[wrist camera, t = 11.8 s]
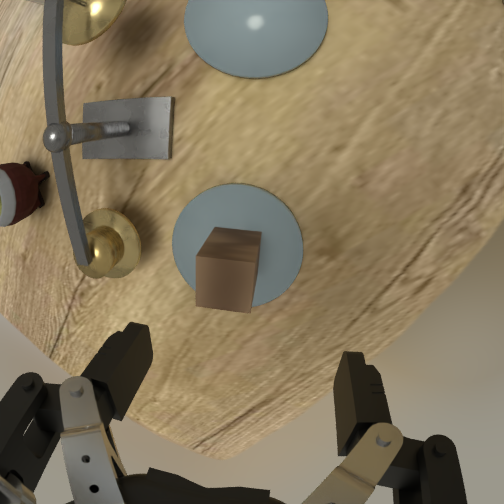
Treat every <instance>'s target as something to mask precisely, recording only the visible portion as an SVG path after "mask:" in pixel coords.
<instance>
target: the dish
mask: <svg viewBox="0 0 504 504" xmlns="http://www.w3.org/2000/svg"><path fill="white" fill-rule="evenodd" d="M214 227H222V228H232V229H241V230H250V231H260V232H262V235H261V245H260V256H259V266H258V275H257V281H256V286H255V292H254V297H253V302H252V307H254V306H258V305H262V304H265V303H267V302H270V301H272V300H273V299H275V298H277V297H278V296H280V295H281V294H282V293H284V292H285V291H286V290H287V289H288V288H289V286H290V285H291V284H292V283H293V281H294V280H295V278H296V276H297V274H298V272H299V269H300V267H301V263H302V258H303V242H302V236H301V231H300V228H299V225H298V223H297V221H296V219H295V217H294V215H293V214H292V212H291V211H290V209H289V208H288V207H287V206H286V205H285V204H284V203H283V202H282V201H281V200H280V199H279V198H278V197H276V196H275V195H273V194H272V193H270V192H268V191H267V190H264V189H262V188H260V187H257V186H253V185H249V184H243V183H229V184H222V185H218V186H215V187H212V188H210V189H207V190H206V191H204V192H202V193H200V194H199V195H198V196H196V197H195V198H194V199H193V200H192V201H190V202H189V204H188V205H187V206H186V207H185V208H184V209H183V211H182V212H181V214H180V215H179V217H178V219H177V221H176V224H175V227H174V232H173V239H172V247H173V255H174V259H175V262H176V265H177V267H178V269H179V271H180V273H181V275H182V276H183V278H184V279H185V281H186V282H187V283H188V284H189V285H190V286H191V287H192V288H193V289H194V290H195V291H196V255H197V253H198V252H199V250H200V248H201V247H202V245H203V244H204V242H205V241H206V239H207V238H208V236H209V235H210V233H211V232H212V230H213V229H214Z"/></svg>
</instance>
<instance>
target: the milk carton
mask: <svg viewBox="0 0 504 504" xmlns="http://www.w3.org/2000/svg"><path fill="white" fill-rule="evenodd" d="M28 1H31V2H35V3H38V4H41V5H44V2H45V0H28Z"/></svg>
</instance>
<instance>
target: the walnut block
mask: <svg viewBox="0 0 504 504" xmlns="http://www.w3.org/2000/svg"><path fill="white" fill-rule="evenodd" d="M261 235H262V232H260V231H250V230H241V229H232V228H222V227H214V229H213V230H212V232H211V233H210V235H209V236H208V238H207V239H206V241H205V242H204V244H203V245H202V247H201V248H200V250H199V252H198V253H197V255H196V306H198V307H205V308H212V309H220V310H227V311H235V312H243V313H251V308H252V302H253V297H254V292H255V286H256V281H257V275H258V266H259V256H260V245H261Z"/></svg>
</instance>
